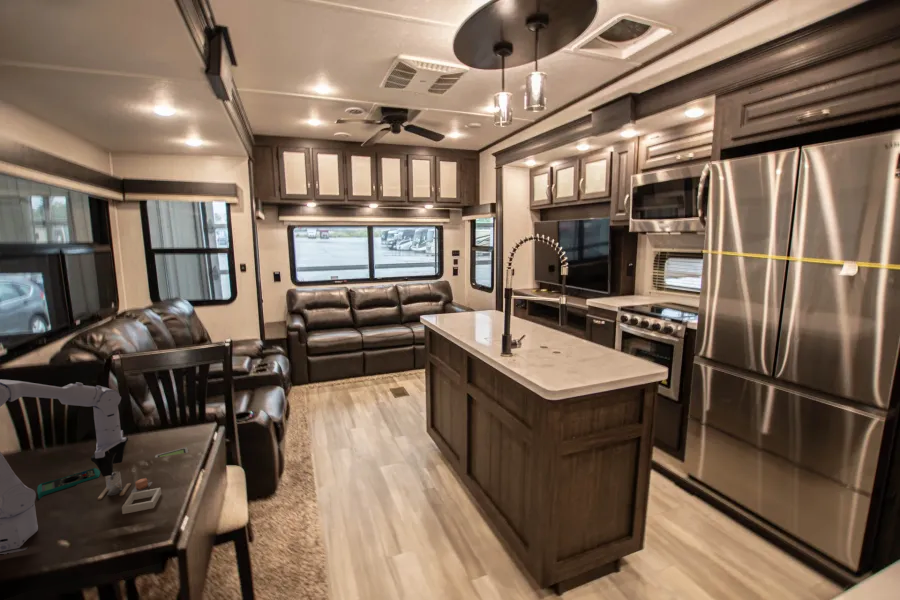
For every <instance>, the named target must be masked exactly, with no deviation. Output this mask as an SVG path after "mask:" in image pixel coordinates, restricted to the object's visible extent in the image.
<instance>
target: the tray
mask: <svg viewBox="0 0 900 600" xmlns="http://www.w3.org/2000/svg"><path fill="white" fill-rule="evenodd" d="M161 496H162V488H161V487H156V488H149V489H148V490H143V491H137V492H132V493H130V494H129V496H128V497H127V499H126V500H125V502H124V504H122V506H121V513H122V515H125V514H129V513H135V512H140V511H145V510H151V509H154V508H155V506H156V505H157V502H158V501H159V499H160V497H161ZM146 498H151V499H150V500H148V501H143V502H136V503H134V501H136V500H141V499H146Z"/></svg>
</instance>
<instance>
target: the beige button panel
mask: <svg viewBox="0 0 900 600" xmlns="http://www.w3.org/2000/svg"><path fill="white" fill-rule="evenodd" d="M152 484H153V481H150V482H148V486H147V487H146V488H144V489H141V490H137V489H136V485H135V486H134V487H133V489H132V490H131V491H130V492H131V493H133V492H139V491H144V490H150V487H151V485H152ZM131 485H132V483H131V482H129V483H126V484H125V485H124V487H123V488H122V491H121V492H120V493H119V496H120V497H122V496H125V494H126V493H127V491H128V490H129V489H130V486H131ZM131 493H130V494H131ZM106 494H107V488H106V487H105V488H104V489H103V490H102V492H101V493H100V494H99V496H98V497H97V500H98V501H100V500H103V499H104V497H105V496H106Z"/></svg>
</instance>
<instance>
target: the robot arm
mask: <svg viewBox="0 0 900 600" xmlns="http://www.w3.org/2000/svg"><path fill="white" fill-rule="evenodd" d="M22 397H26V398H27V397H28V398H42V399H43V398H44V399H53V400H54V399H55V400H58V401H59V402H60V403H61V405H65V406H66V405H67V406H76V407H77V406H78V407H79V406H80V407H92V408H93V420H94V421H93V422H94V429H95V437H96V443H95V445H96V447H95V448H96V449H95V451H94V454H92V455H91V456H90V461H92V462H93V463H94V464H95V465H96V468H97V469H98V470H99V471H100V475H101V476H102V477H105V476H110V475H112V472H114V464H121V463H122V462H123V459H124V455H125V454H124V453H125V448H126V445H127V443H128V441H129V437H127V436H125V437H124V430H123V429H121V420H120V411H119V404H120V403H121V400H122V396H120V393H119V392H118V391H117V390H115V389H112V388H108V387H106V386H101V385H97V384H96V386H93V385H84V383H82V382H77V381H76V382H75V383H69V384H67V385H64V386H56V385H48V384H44V383H43V384H42V383H34V382H30V381H22V380H11V379H0V408H1V407H2V406H3V405H4V404H6V402H7V401H8V402H10V403H11V402H14V401H17V400H18V399H20V398H22ZM36 497H37V494H36V491H35V489H32V488H30V487H28V486H27V485H25V484H24V483H23V482H22V480H21V479H20V477H18V475H16V473H15V472H14V470H13V469H12V467H11V466H10V464H9V462H8V461H7V459H6V458H5V457H4V455H3V454H2V452H1V451H0V554H4V555H7V553H9V554H12V553H17V552H21V551H26V550H28V548H29V546H28V547H23V548H21V547H22V546H23V545H24V543H25V542H26V541H27V540H28V539H29V538H31V537H32V536H33V535H35V534H36V533H37V532H38V530H39V525H38V519H37V512H36V511H37V509H36V506H35V501H36V499H37V498H36Z"/></svg>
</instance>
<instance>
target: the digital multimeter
mask: <svg viewBox="0 0 900 600" xmlns="http://www.w3.org/2000/svg"><path fill="white" fill-rule="evenodd" d="M100 476H101V472H100V470H99V468H98V467H93V468H91V469H90V468H89V469H86V470H84V471H80V472H77V473H73V474H70V475H67V476H64V477H60V478H57V479H54V480H48V481H46V482H42V483H40V484H39V485H37V488H36V492H37V497H38V500H41V499H42V498H43V496H48V495H50V494H52V493H55V492H58V491H62V490H65V489H69V488H71V487H75V486H77V485H79V484H81V483H85V482H87V481H92V480H95V479H98V478H99V477H100Z"/></svg>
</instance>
